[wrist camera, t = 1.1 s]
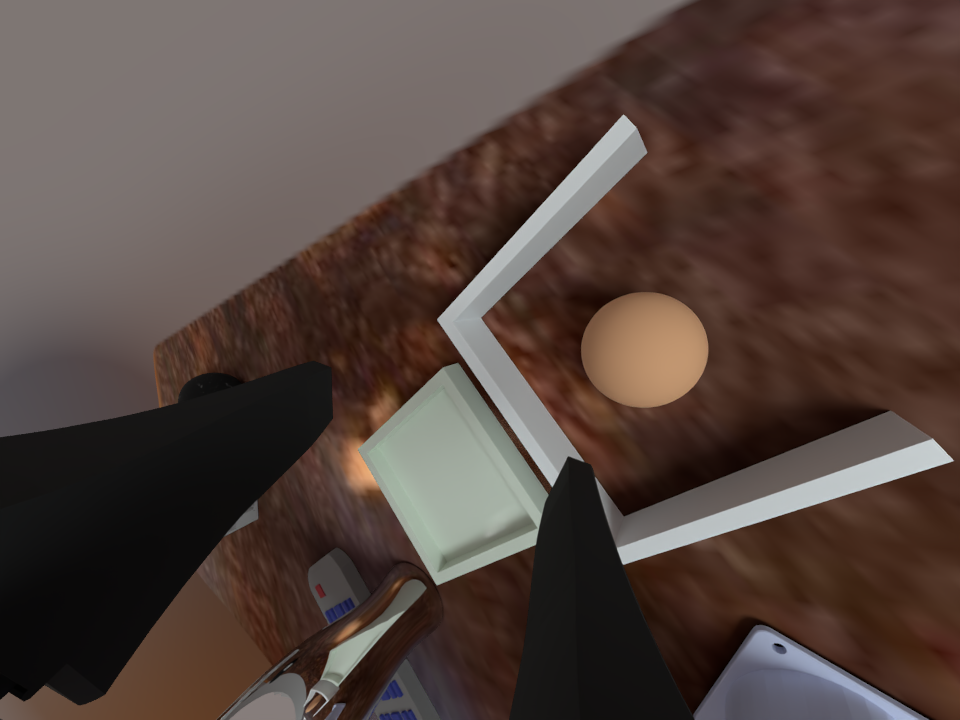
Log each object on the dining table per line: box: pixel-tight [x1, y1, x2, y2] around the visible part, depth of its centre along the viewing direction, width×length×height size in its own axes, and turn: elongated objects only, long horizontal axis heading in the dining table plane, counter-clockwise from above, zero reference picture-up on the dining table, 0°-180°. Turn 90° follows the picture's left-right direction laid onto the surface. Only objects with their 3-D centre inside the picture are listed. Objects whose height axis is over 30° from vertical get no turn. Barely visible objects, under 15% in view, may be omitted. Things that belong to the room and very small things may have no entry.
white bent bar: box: [437, 115, 954, 564], centre depth 17 cm, size 13×16×3 cm
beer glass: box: [217, 562, 443, 720], centre depth 25 cm, size 7×7×15 cm
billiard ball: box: [178, 373, 241, 403], centre depth 39 cm, size 6×6×6 cm
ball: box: [581, 292, 708, 408], centre depth 15 cm, size 5×5×5 cm
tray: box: [358, 363, 548, 585], centre depth 25 cm, size 12×12×2 cm
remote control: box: [308, 547, 441, 720], centre depth 35 cm, size 8×23×2 cm, turn 43°
